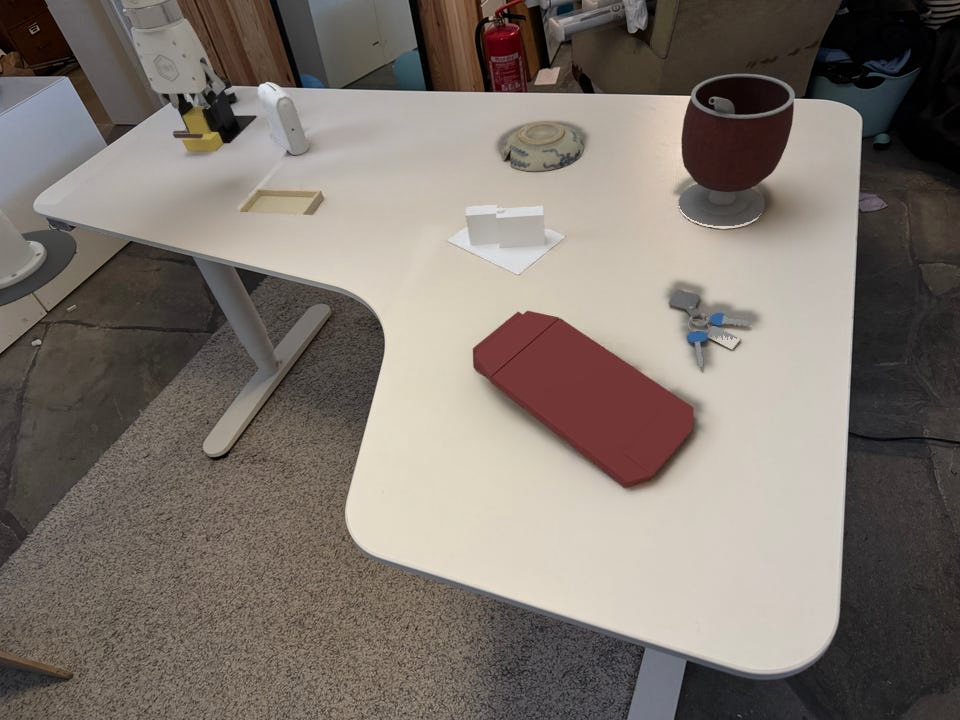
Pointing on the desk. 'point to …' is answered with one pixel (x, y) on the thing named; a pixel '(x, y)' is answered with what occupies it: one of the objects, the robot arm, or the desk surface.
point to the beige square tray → (283, 201)
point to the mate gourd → (733, 145)
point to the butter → (203, 142)
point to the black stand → (229, 118)
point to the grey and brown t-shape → (186, 133)
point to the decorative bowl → (542, 147)
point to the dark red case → (585, 395)
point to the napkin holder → (506, 235)
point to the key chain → (718, 319)
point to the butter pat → (196, 121)
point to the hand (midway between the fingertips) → (205, 127)
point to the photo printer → (282, 118)
